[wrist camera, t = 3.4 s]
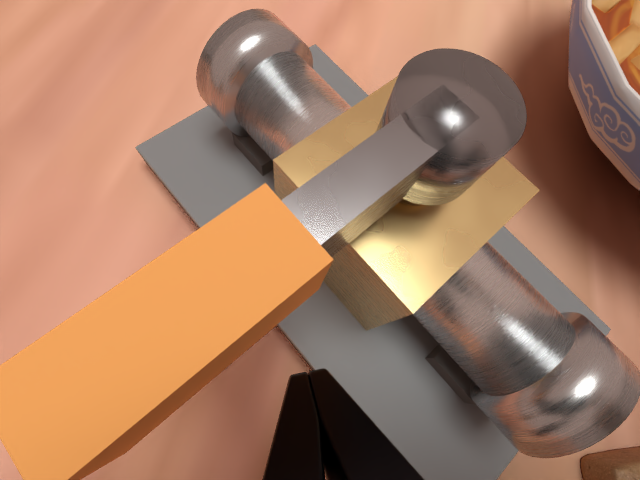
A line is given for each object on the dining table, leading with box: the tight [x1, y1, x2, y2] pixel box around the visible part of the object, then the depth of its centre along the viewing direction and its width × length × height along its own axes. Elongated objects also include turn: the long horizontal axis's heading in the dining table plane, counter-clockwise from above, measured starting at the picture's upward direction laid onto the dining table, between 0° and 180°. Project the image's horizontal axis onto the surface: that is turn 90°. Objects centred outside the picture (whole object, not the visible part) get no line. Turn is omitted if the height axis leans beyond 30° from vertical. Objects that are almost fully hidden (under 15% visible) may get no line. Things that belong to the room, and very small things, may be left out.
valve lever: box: [0, 49, 527, 480], centre depth 8 cm, size 12×3×3 cm, turn 131°
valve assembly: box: [135, 9, 640, 480], centre depth 14 cm, size 22×12×8 cm, turn 41°
